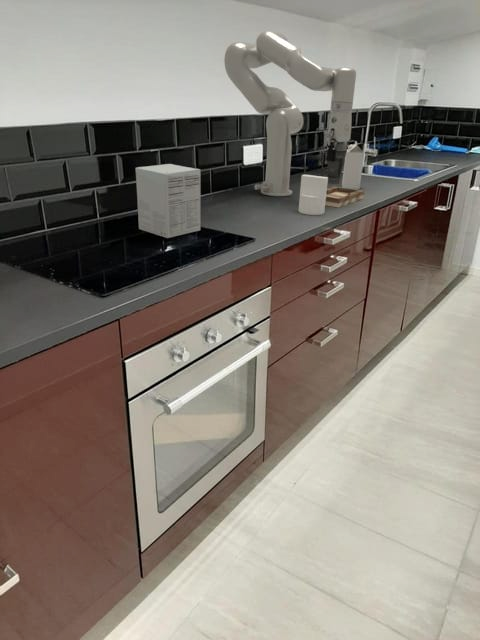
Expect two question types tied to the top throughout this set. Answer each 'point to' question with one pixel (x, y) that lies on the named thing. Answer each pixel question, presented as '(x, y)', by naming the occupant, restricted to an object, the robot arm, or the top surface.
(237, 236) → the top surface
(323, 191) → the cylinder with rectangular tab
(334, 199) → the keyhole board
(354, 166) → the milk carton
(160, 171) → the supplement box
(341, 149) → the beverage cup
